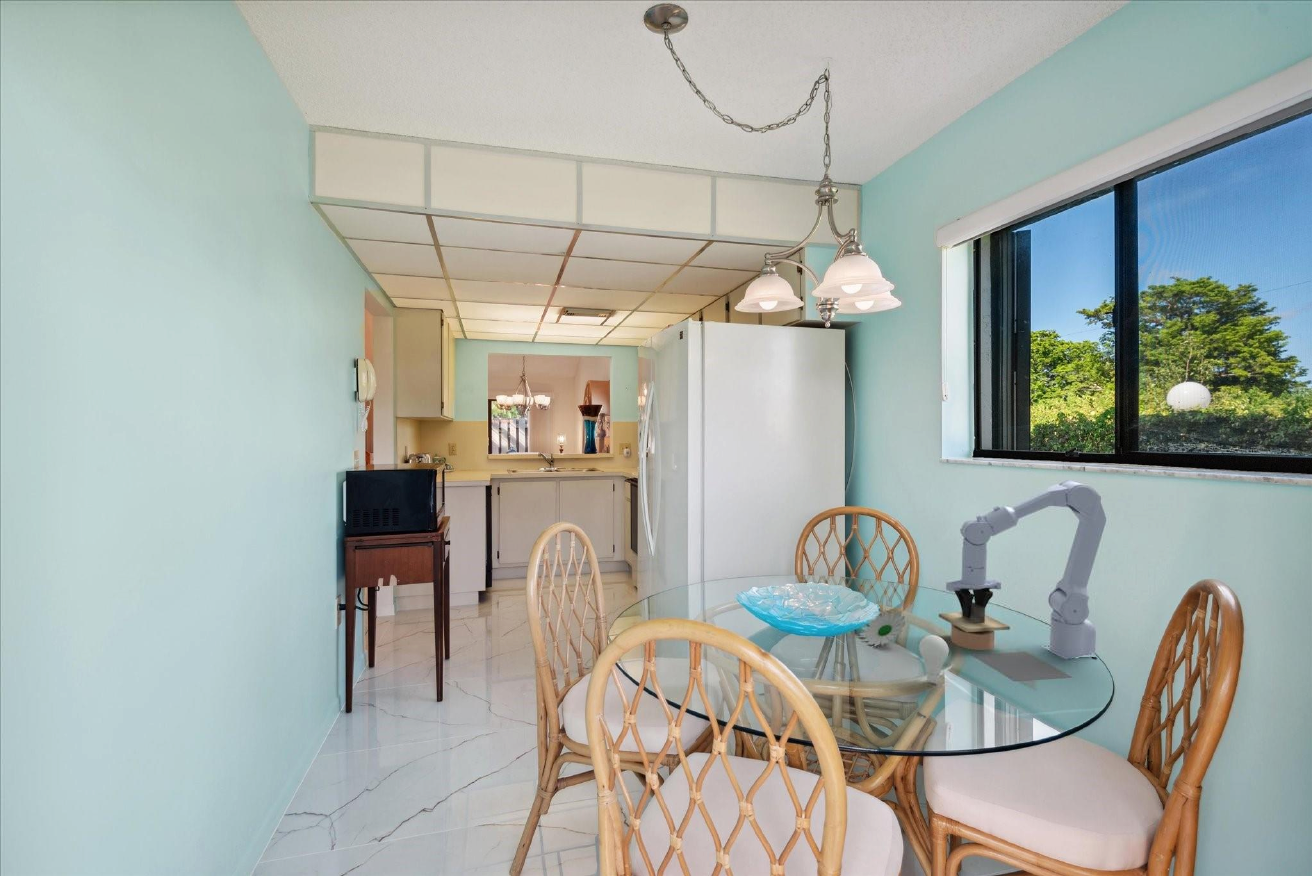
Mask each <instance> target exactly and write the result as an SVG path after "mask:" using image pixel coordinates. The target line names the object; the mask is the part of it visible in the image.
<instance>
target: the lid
mask: <svg viewBox="0 0 1312 876" xmlns="http://www.w3.org/2000/svg"><path fill="white" fill-rule="evenodd" d="M938 618H940V619H942V620H944V621H946V622H947V623H949V624H950V625H951V624H953V625H955V626H957V627H959V628H961V629H962V630H964V631H966V632H976V631H994V632H995V631H1008V630H1011V626H1009V625H1008V624H1005V623H1003V622H1001V621H999V620H998V619H997V620H996V619H995V618H993V617H990V616H989V615H987V614H986V608H985V607H982V606H980V605H978V604H976V603H975V601H974V602H973V601H972V606H971V616H970V618H966V617H964V616H963V613H962V612H950V613H949V612H947V613H938Z"/></svg>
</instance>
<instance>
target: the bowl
mask: <svg viewBox="0 0 1312 876" xmlns="http://www.w3.org/2000/svg"><path fill="white" fill-rule="evenodd" d="M950 641H951V643H953V644H955V645H956V646H957V647H962V648H964V649H968V650H974V651H975V650H976V651H989V650H991V649H993V648H995V631H976V632H966V631H964V630H962V629H961V628H959V627H957V626H955V625H953V624H951V623H950Z"/></svg>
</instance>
